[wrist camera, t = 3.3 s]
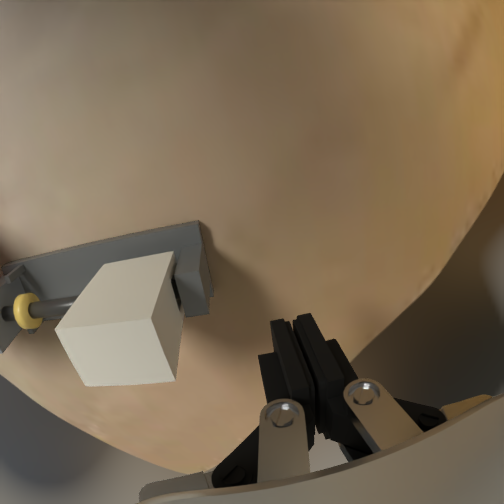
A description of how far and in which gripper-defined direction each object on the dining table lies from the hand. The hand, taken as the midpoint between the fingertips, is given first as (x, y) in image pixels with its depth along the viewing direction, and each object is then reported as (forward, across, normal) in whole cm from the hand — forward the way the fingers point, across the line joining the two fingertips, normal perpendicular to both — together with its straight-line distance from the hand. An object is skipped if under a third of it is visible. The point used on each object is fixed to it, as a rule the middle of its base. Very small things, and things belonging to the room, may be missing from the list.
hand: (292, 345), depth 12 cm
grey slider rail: (+11, +13, 0) cm, 17 cm away
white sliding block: (+8, +8, 0) cm, 11 cm away
